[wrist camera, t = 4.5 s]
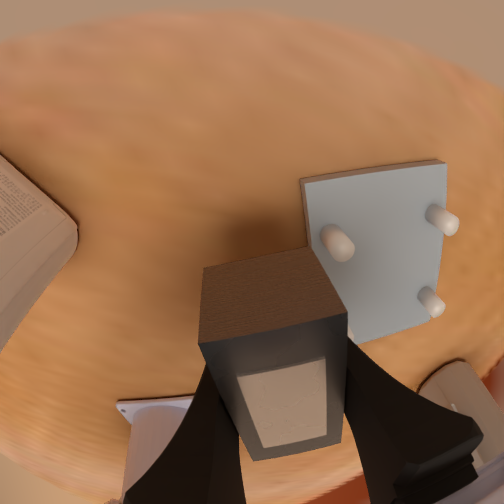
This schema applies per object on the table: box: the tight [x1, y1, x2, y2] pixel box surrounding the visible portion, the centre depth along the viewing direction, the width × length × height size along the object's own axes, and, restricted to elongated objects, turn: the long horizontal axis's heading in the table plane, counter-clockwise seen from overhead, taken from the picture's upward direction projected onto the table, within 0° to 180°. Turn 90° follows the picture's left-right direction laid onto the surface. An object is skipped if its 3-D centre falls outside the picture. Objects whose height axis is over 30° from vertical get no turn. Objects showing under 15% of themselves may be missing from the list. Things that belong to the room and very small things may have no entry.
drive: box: [198, 246, 348, 461], centre depth 11 cm, size 8×4×4 cm, turn 10°
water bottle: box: [418, 361, 504, 470], centre depth 15 cm, size 9×8×25 cm
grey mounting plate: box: [300, 160, 459, 345], centre depth 17 cm, size 12×9×3 cm
